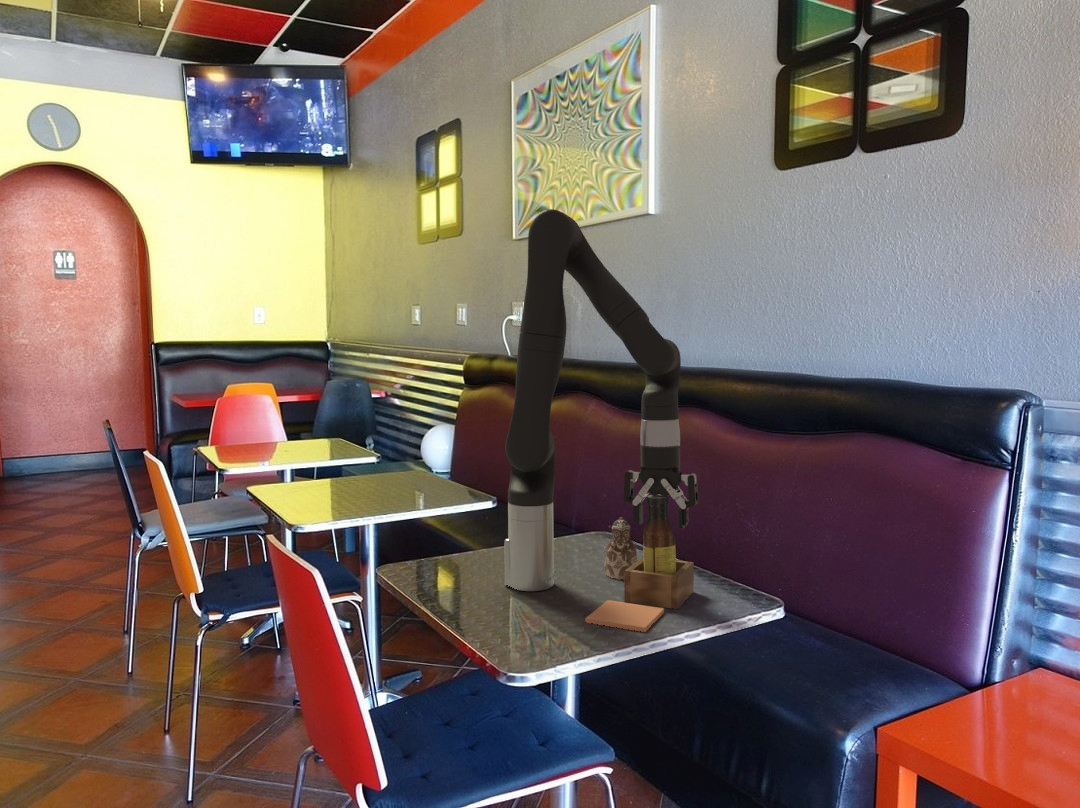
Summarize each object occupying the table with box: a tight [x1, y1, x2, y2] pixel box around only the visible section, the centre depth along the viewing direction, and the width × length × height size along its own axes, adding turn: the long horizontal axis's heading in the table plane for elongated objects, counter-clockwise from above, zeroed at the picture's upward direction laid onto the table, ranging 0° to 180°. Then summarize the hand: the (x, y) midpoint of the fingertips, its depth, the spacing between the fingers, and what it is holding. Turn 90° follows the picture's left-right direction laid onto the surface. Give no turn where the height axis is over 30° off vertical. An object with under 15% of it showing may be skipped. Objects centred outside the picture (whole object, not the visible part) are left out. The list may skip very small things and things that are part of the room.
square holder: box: [623, 556, 695, 610], centre depth 152 cm, size 10×11×6 cm
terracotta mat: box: [584, 599, 665, 633], centre depth 141 cm, size 11×11×1 cm
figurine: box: [603, 516, 638, 580], centre depth 167 cm, size 7×7×12 cm
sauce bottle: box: [642, 494, 677, 575], centre depth 152 cm, size 7×6×20 cm
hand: (660, 525), depth 151 cm, fingers open, 8 cm apart
